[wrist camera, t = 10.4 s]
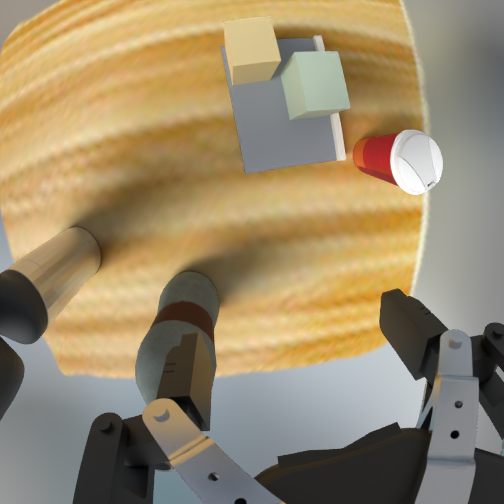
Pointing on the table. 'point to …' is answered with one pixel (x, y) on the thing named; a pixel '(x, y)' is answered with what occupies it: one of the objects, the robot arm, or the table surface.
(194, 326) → the bottle
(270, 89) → the display board
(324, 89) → the tea box
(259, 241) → the table surface
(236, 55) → the mustard box
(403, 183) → the paper cup
